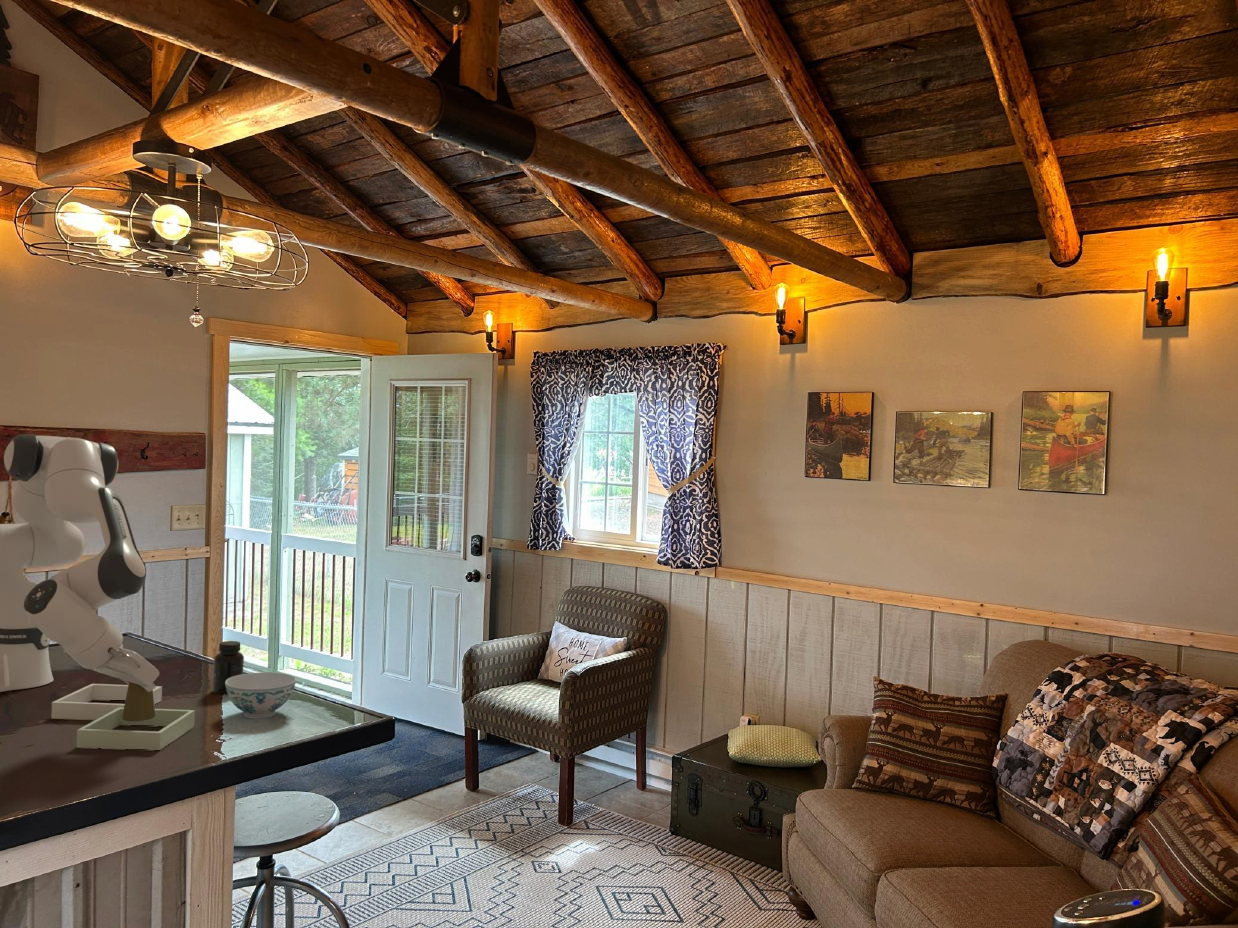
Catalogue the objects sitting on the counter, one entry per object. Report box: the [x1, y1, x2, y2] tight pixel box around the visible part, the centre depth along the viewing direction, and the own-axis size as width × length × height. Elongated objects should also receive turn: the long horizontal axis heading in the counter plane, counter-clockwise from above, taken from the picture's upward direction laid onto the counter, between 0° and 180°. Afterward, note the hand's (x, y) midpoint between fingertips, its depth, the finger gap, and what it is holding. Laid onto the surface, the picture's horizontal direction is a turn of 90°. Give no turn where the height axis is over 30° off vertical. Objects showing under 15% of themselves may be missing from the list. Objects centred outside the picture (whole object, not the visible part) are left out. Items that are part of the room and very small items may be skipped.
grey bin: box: [51, 683, 163, 721], centre depth 203 cm, size 16×16×4 cm
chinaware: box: [225, 671, 297, 719], centre depth 205 cm, size 15×15×8 cm
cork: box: [122, 663, 156, 721], centre depth 185 cm, size 6×6×11 cm
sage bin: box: [75, 708, 196, 751], centre depth 186 cm, size 16×16×4 cm
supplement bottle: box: [212, 640, 245, 695], centre depth 223 cm, size 7×7×12 cm
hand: (143, 686), depth 186 cm, fingers closed on cork, 4 cm apart
